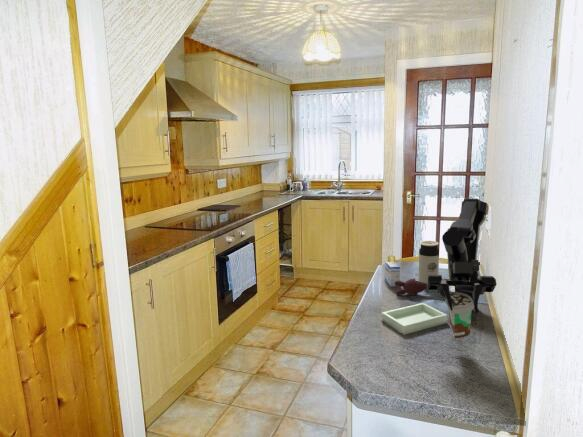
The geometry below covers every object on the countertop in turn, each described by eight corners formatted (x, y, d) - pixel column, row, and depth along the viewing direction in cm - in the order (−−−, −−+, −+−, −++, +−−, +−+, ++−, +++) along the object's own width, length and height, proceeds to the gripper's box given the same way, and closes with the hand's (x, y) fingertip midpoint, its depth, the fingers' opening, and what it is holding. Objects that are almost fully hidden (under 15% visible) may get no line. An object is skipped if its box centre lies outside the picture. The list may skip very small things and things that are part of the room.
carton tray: (422, 310, 154) (422, 302, 153) (447, 323, 143) (447, 314, 142) (381, 320, 147) (381, 312, 146) (403, 334, 136) (403, 326, 135)
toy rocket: (431, 276, 171) (393, 279, 173) (434, 277, 164) (395, 280, 166) (433, 293, 170) (395, 296, 173) (436, 295, 163) (397, 298, 165)
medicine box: (384, 280, 186) (384, 261, 184) (394, 280, 186) (394, 261, 185) (390, 286, 178) (390, 267, 177) (400, 286, 179) (400, 266, 177)
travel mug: (417, 280, 185) (417, 240, 181) (436, 280, 184) (437, 240, 180) (420, 286, 177) (420, 245, 174) (439, 286, 176) (441, 245, 172)
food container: (478, 340, 117) (478, 306, 115) (455, 340, 118) (454, 306, 116) (470, 321, 128) (469, 290, 127) (448, 321, 130) (448, 290, 128)
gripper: (428, 248, 124) (431, 298, 116) (496, 249, 120) (505, 301, 112) (425, 265, 133) (427, 313, 125) (488, 267, 129) (495, 316, 121)
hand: (463, 310), depth 121 cm, fingers closed on food container, 6 cm apart
